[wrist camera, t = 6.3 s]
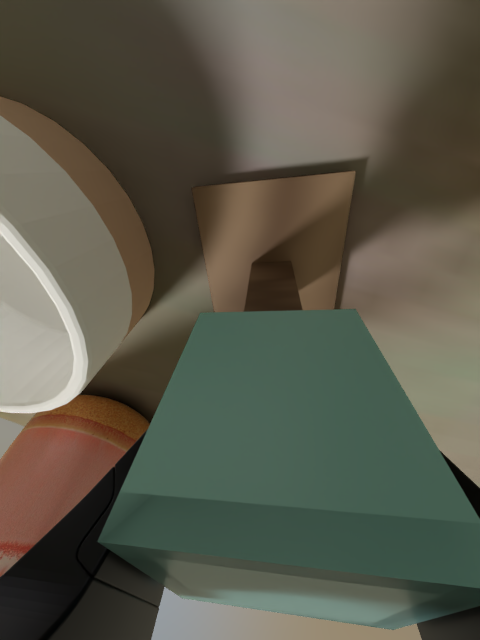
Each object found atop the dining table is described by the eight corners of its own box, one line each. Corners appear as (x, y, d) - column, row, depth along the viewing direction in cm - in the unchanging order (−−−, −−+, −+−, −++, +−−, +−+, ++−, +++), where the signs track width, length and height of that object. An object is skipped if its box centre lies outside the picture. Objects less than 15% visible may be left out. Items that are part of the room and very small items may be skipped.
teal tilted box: (355, 308, 7) (523, 593, 3) (333, 407, 10) (393, 629, 5) (200, 312, 8) (97, 541, 3) (220, 404, 11) (182, 598, 6)
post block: (351, 170, 13) (419, 177, 7) (326, 339, 19) (350, 413, 14) (195, 186, 14) (144, 203, 8) (221, 340, 21) (204, 408, 15)
